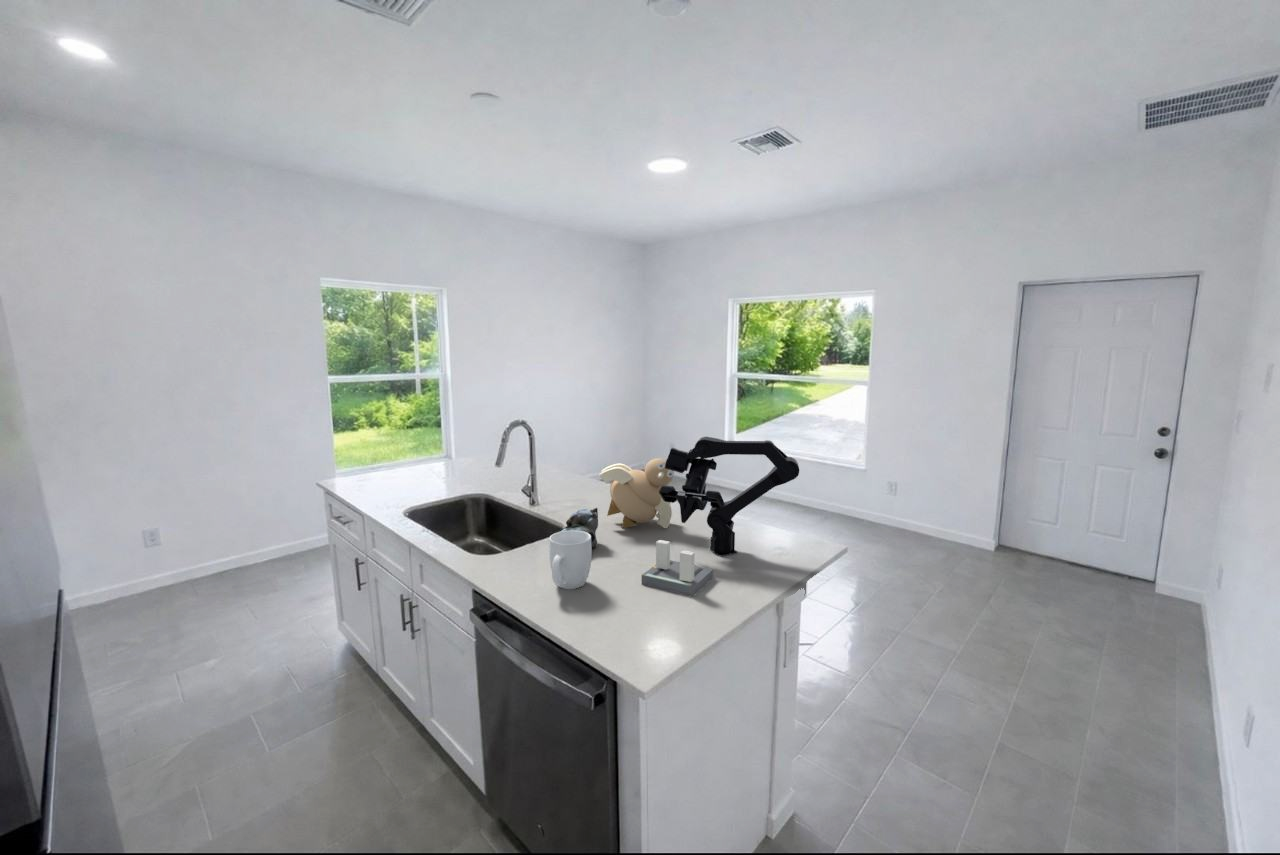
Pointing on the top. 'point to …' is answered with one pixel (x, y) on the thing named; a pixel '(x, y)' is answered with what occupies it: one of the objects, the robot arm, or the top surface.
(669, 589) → the breaker panel
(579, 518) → the lucky cat figurine
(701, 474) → the robot arm
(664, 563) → the block
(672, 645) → the top surface
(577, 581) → the mug
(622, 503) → the chick figurine
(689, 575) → the block
